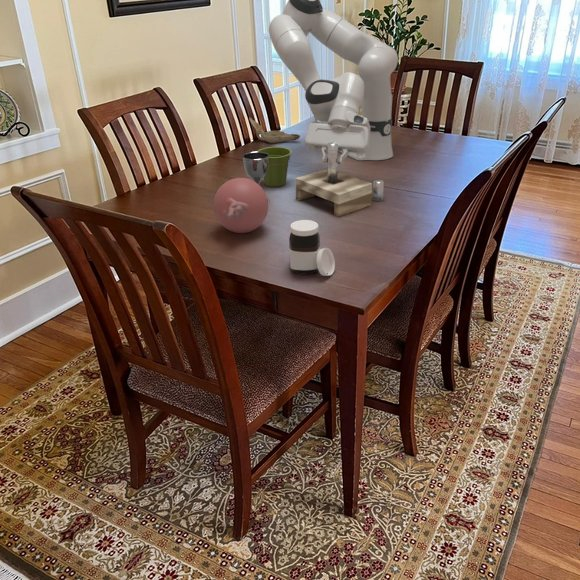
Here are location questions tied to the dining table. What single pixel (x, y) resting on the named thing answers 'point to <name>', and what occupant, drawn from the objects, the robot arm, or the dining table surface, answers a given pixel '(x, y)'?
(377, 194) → the short pin
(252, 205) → the balloon
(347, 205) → the board
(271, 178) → the plant pot
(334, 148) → the grey peg
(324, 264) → the spread jar
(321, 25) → the robot arm
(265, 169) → the wine glass
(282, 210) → the dining table surface
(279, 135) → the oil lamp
